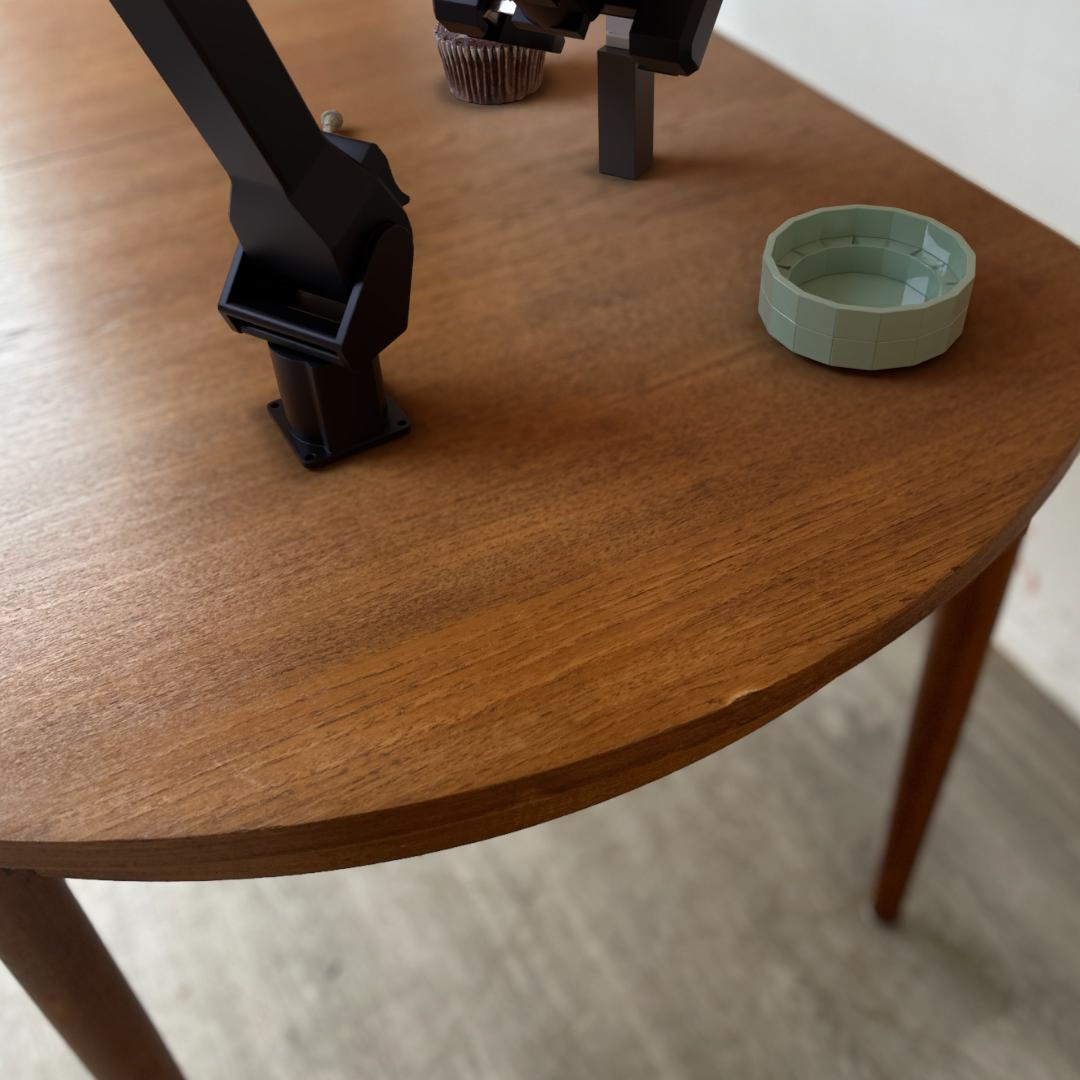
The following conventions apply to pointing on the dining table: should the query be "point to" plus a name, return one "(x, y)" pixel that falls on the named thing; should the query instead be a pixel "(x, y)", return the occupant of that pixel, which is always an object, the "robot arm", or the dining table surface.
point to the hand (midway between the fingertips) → (618, 57)
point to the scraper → (623, 106)
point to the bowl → (865, 286)
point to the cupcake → (488, 68)
